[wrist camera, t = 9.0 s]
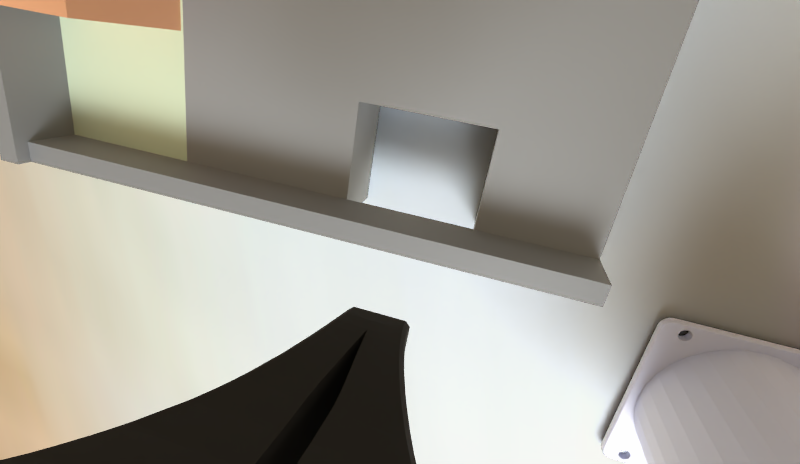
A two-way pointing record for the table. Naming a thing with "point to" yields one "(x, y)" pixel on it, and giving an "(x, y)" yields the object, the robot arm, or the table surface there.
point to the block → (109, 11)
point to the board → (359, 115)
